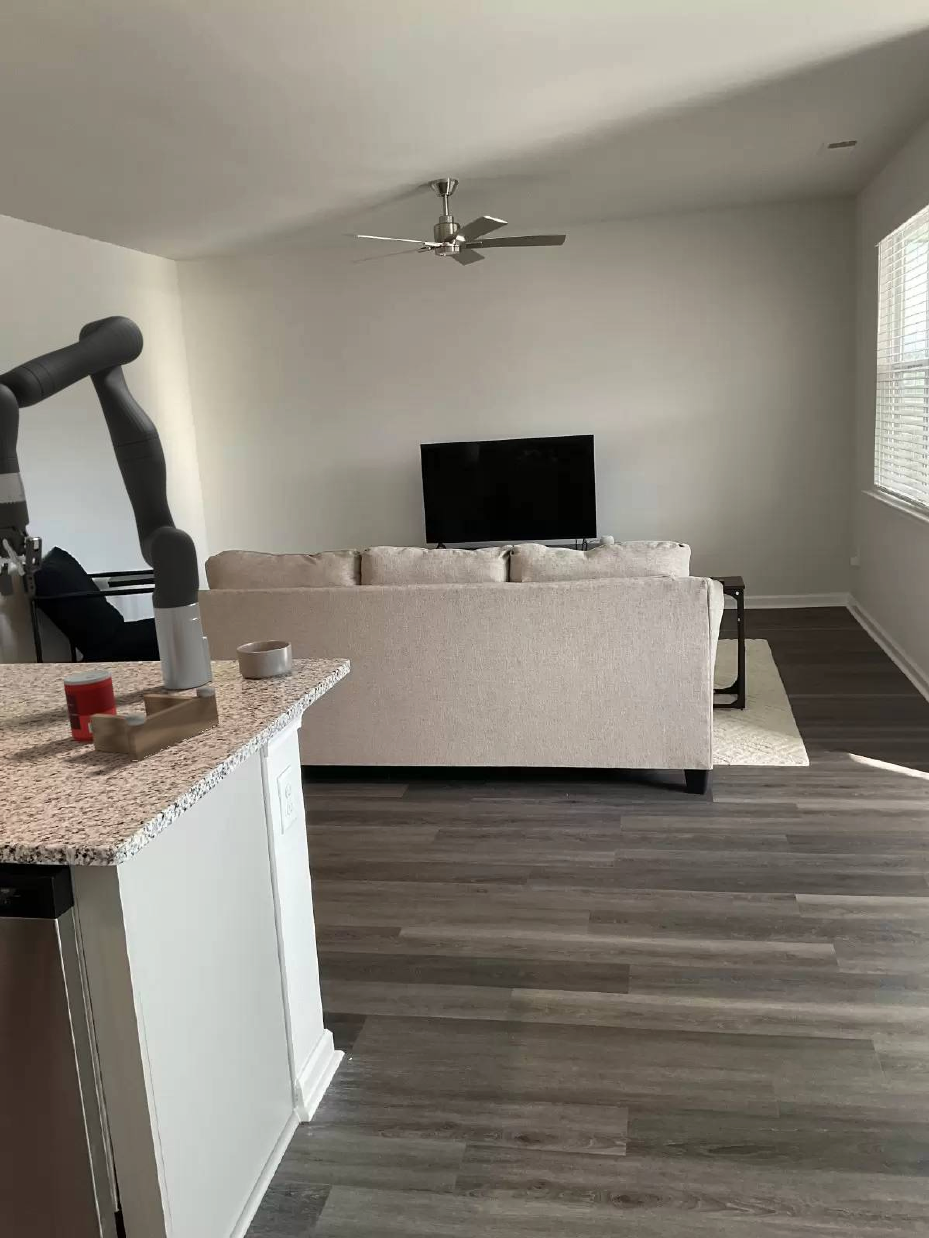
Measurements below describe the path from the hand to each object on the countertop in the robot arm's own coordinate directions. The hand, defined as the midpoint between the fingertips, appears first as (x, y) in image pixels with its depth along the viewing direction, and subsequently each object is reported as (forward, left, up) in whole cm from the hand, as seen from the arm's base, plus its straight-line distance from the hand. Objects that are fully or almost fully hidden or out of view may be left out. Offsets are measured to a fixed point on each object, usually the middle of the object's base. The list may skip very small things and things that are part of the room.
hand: (18, 595), depth 178 cm
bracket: (-7, +26, -25) cm, 37 cm away
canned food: (-4, +13, -26) cm, 29 cm away
